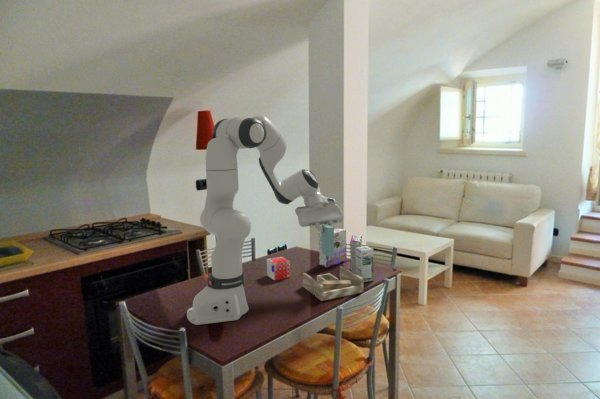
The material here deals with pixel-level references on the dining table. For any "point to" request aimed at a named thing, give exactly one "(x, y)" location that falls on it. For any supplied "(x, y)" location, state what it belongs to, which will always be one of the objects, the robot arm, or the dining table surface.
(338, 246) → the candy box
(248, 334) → the dining table surface
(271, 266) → the red white patterned cube
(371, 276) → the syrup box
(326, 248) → the teal panel
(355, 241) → the candy bar box
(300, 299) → the dining table surface
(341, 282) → the upper offcut
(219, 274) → the robot arm
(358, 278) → the frame
